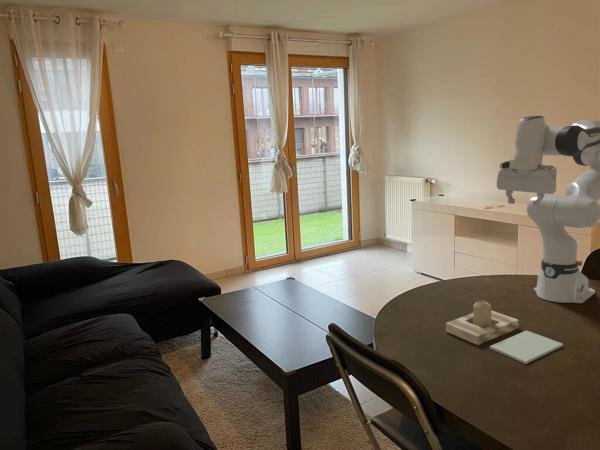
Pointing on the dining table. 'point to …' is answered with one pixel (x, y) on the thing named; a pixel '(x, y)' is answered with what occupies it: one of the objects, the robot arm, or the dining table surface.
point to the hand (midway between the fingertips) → (523, 205)
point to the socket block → (480, 335)
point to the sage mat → (526, 346)
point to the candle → (482, 314)
